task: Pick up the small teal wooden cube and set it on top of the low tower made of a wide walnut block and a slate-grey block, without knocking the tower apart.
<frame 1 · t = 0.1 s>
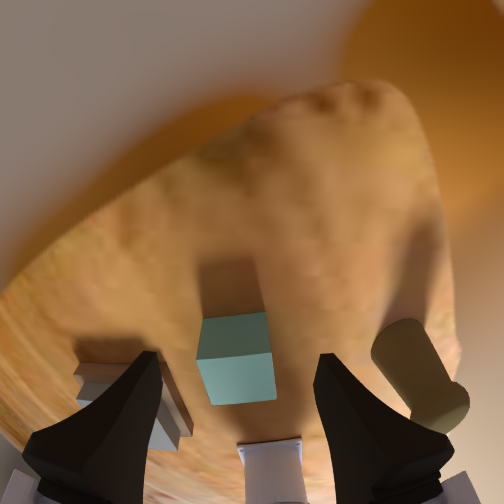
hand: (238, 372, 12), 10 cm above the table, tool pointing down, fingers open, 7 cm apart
teal cube: (238, 339, 24), on the table
grey block: (132, 410, 24), point 2 cm above the table, touching walnut block
olive upright rounded piece: (397, 342, 25), on the table
walnut block: (138, 392, 27), on the table, touching grey block
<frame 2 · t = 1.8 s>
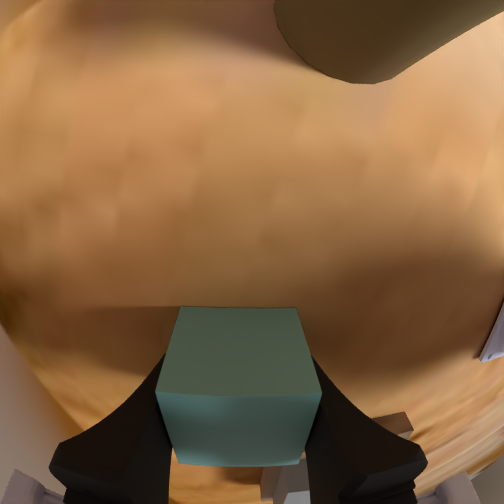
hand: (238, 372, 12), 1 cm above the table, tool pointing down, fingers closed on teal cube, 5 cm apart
teal cube: (238, 351, 13), on the table, touching gripper
grey block: (330, 476, 16), point 2 cm above the table, touching walnut block
olive upright rounded piece: (347, 20, 8), on the table
walnut block: (325, 451, 19), on the table, touching grey block
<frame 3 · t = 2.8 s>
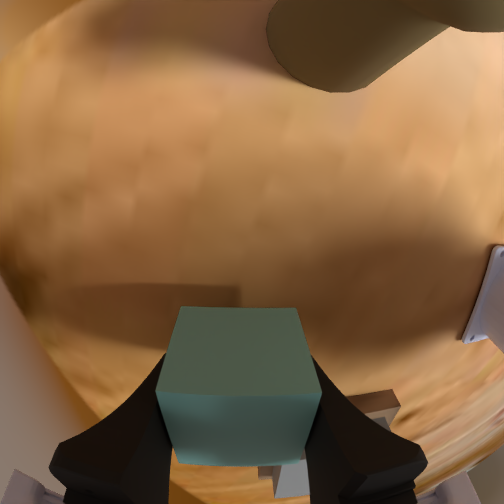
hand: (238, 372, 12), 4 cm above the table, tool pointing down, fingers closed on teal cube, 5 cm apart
teal cube: (238, 351, 13), point 2 cm above the table, touching gripper
grey block: (324, 451, 19), point 2 cm above the table, touching walnut block
olive upright rounded piece: (328, 37, 11), on the table
walnut block: (318, 428, 21), on the table, touching grey block
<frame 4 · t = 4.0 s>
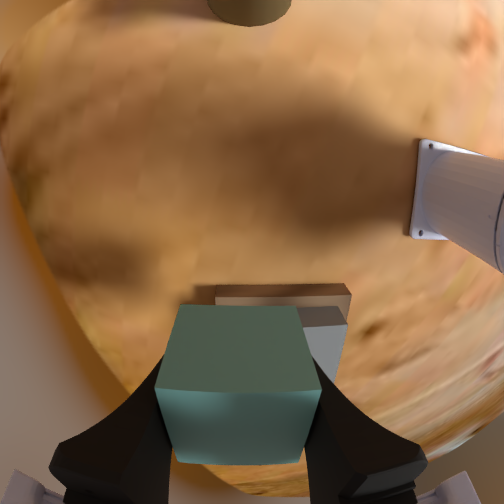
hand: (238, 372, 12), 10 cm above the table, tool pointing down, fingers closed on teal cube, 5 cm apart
teal cube: (237, 349, 13), point 9 cm above the table, touching gripper
grey block: (282, 349, 22), point 2 cm above the table, touching walnut block
walnut block: (277, 332, 25), on the table, touching grey block
when the fingers open (7 cm above the table, at t = 5.7 s): teal cube drops 1 cm, resting on grey block.
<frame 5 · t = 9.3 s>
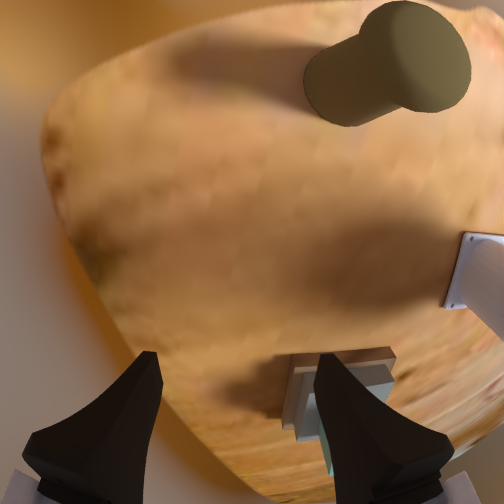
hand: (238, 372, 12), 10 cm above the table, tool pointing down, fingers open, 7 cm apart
teal cube: (345, 417, 23), point 4 cm above the table, touching grey block
grey block: (337, 396, 25), point 2 cm above the table, touching teal cube, walnut block
olive upright rounded piece: (344, 86, 17), on the table
walnut block: (331, 382, 28), on the table, touching grey block
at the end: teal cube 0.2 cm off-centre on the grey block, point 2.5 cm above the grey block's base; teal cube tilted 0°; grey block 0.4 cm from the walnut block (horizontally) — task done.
